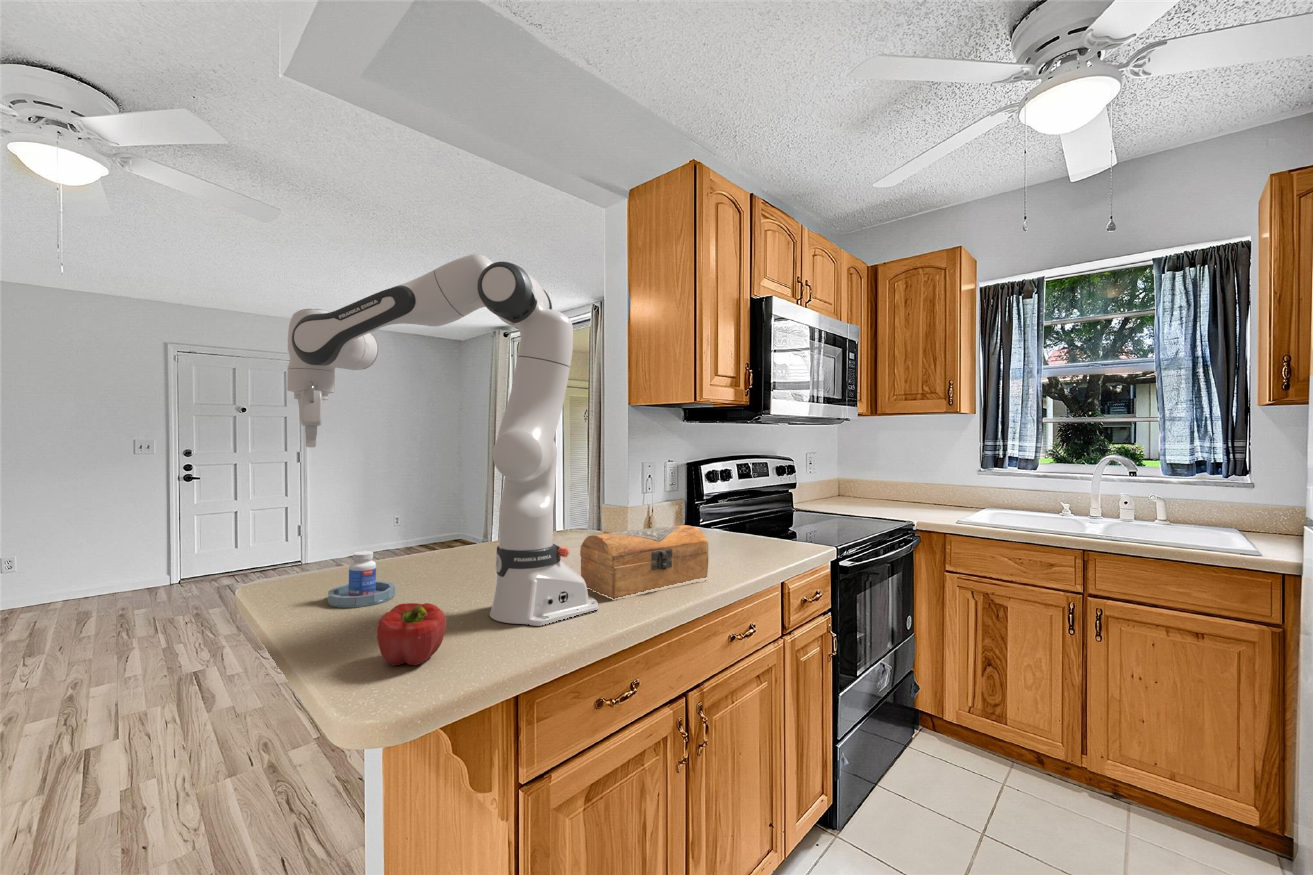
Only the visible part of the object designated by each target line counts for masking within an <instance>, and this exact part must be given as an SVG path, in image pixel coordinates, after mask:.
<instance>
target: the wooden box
mask: <svg viewBox="0 0 1313 875" xmlns="http://www.w3.org/2000/svg"><path fill="white" fill-rule="evenodd" d="M579 550H580V552H579V555H580V575H581V576H582V577H583V579H584V580H585V583H586V586H587V588H590V589H592V590H594V591H596V592H599V593H600V594H604V595H607V596H608V597H611V598H613V599H615V598H618V597H623V596H626V595H631V594H636V593H638V592H644V591H646V590H651V589H655V588H661V587H664V586H669V585H674V584H677V583H683V582H686V581H691V580H694V579H700V578H706V577H707V578H708V572H709V570H708V569H709V542H708V539H707V537H706V536H705V534H704V532H703V531H702V530H701V529H699V528H697V527H695V526H691V525H686V524H685V525H683V524H682V525H674V526H662V527H661V526H660V527H650V528H641V529H639V528H638V529H631V530H630V529H629V530H625V531H624V530H623V531H616V532H609V533H603V534H595V535H589V536H587V537H586V538H585V539H584V540H583V542H582V544H581V545H580V549H579Z"/></svg>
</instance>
